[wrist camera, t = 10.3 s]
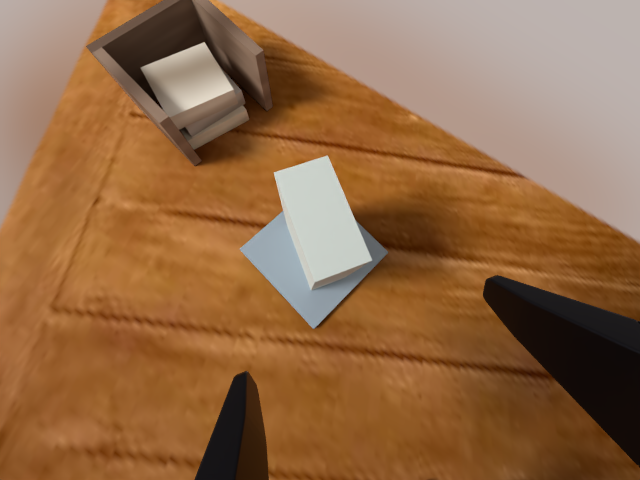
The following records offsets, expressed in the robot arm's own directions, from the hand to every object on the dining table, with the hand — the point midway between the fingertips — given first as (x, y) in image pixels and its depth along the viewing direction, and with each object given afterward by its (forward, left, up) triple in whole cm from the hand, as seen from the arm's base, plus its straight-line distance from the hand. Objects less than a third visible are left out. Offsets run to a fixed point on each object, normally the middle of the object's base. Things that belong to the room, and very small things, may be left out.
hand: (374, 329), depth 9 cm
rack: (+22, -5, -13) cm, 26 cm away
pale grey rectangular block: (+5, -2, -12) cm, 14 cm away
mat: (+5, -2, -13) cm, 14 cm away
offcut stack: (+22, -4, -13) cm, 26 cm away
